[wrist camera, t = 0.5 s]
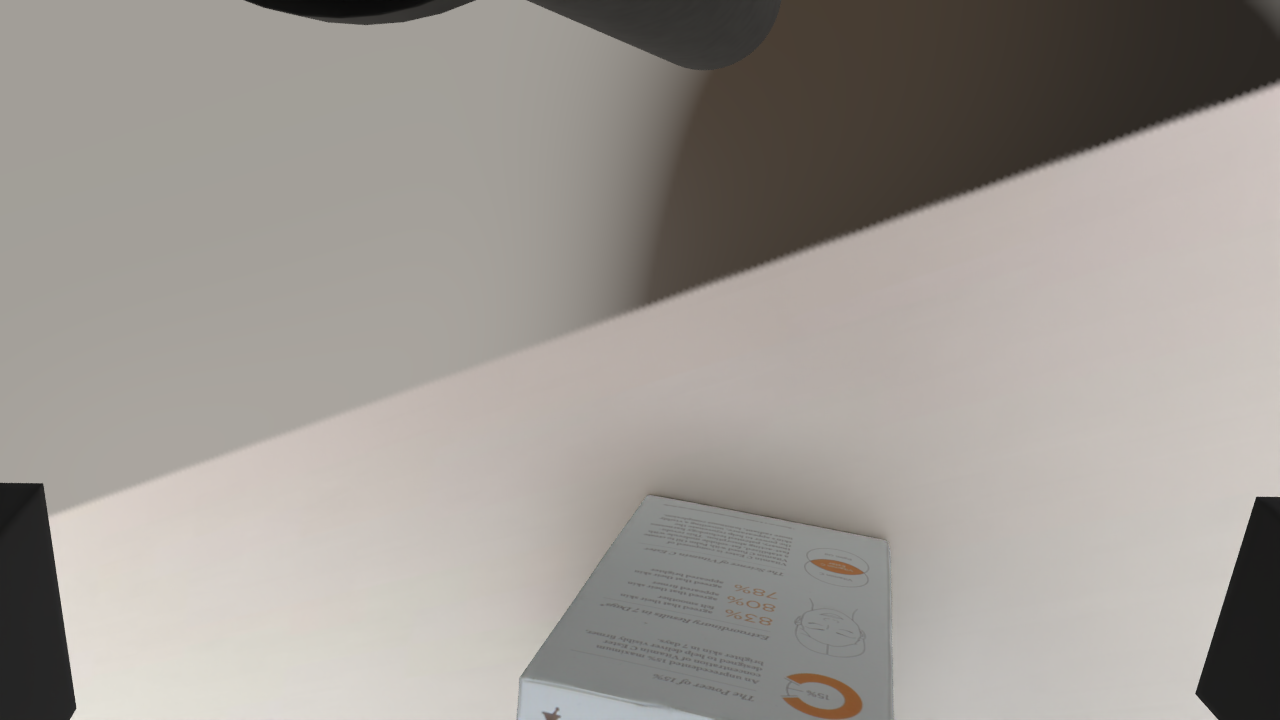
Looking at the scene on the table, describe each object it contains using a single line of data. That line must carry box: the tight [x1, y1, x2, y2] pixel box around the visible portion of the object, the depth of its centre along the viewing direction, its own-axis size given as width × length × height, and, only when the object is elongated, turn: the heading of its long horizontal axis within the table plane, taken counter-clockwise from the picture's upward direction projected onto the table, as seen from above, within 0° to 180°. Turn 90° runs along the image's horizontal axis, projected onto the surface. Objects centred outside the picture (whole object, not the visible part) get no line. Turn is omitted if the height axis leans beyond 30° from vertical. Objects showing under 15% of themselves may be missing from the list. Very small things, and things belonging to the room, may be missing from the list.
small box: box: [516, 495, 894, 720], centre depth 29 cm, size 8×6×13 cm
